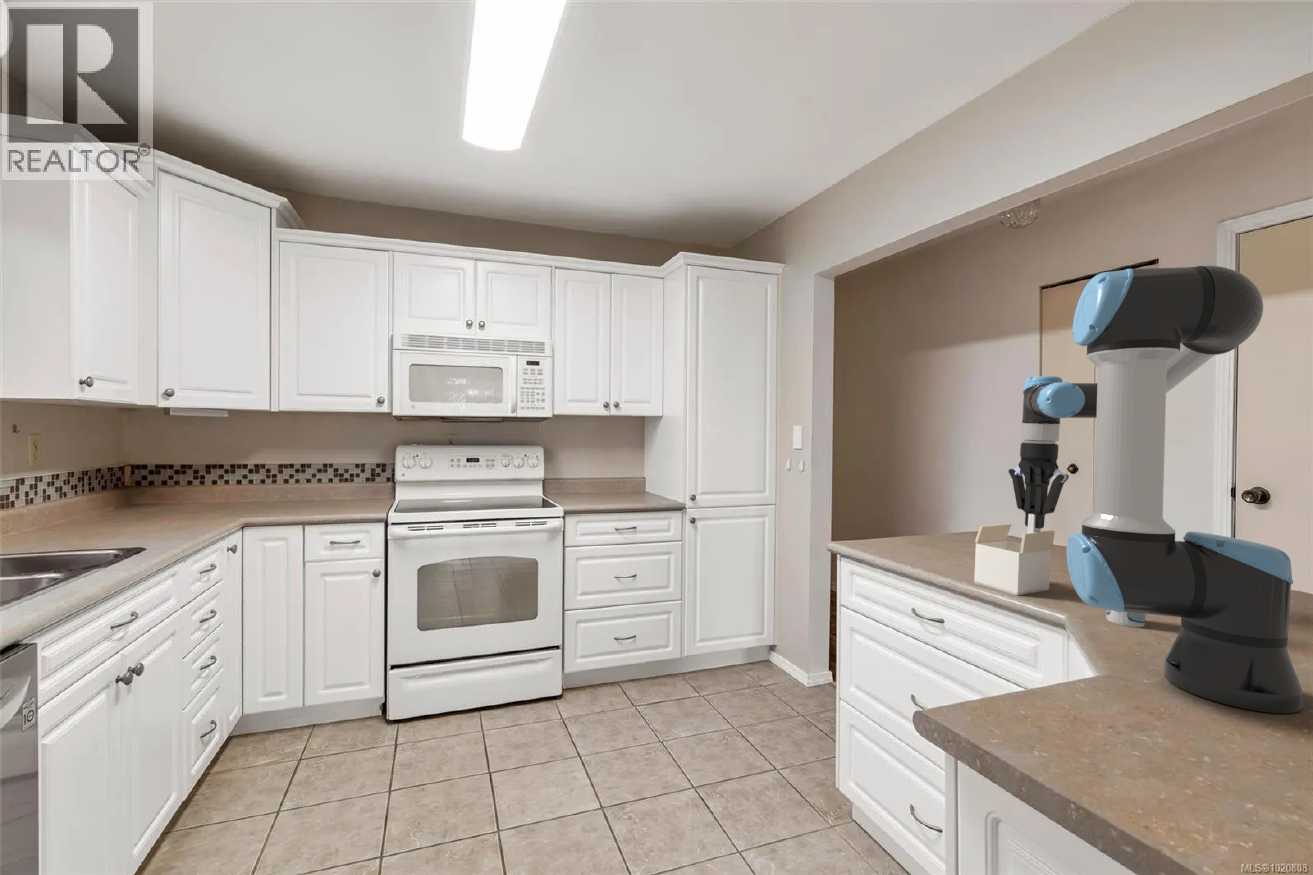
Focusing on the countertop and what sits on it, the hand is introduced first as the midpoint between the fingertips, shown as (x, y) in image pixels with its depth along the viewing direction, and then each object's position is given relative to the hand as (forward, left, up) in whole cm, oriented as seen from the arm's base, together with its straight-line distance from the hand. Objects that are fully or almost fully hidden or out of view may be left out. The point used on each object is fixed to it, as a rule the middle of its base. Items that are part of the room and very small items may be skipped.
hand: (1033, 541), depth 140 cm
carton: (0, +5, -12) cm, 13 cm away
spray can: (-3, -21, -13) cm, 25 cm away
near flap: (0, -1, 0) cm, 1 cm away
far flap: (0, +10, 0) cm, 10 cm away
